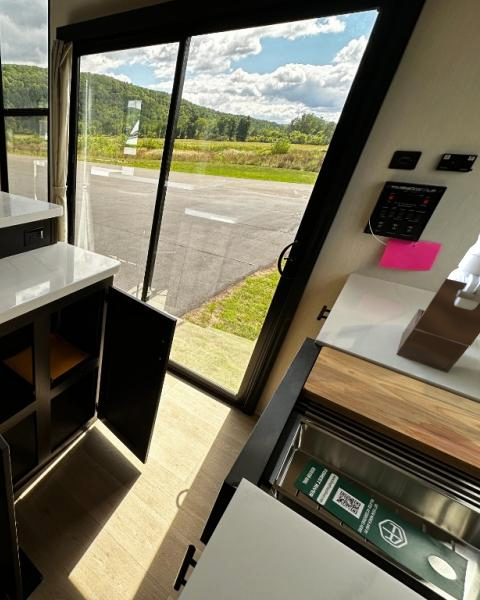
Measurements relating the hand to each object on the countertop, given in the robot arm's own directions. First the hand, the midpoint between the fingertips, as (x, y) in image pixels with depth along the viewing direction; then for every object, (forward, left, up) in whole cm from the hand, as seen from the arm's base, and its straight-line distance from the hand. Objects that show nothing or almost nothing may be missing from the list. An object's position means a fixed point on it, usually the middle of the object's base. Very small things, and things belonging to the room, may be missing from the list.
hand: (453, 308), depth 91 cm
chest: (+1, +1, -16) cm, 16 cm away
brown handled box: (+5, +5, +2) cm, 7 cm away
